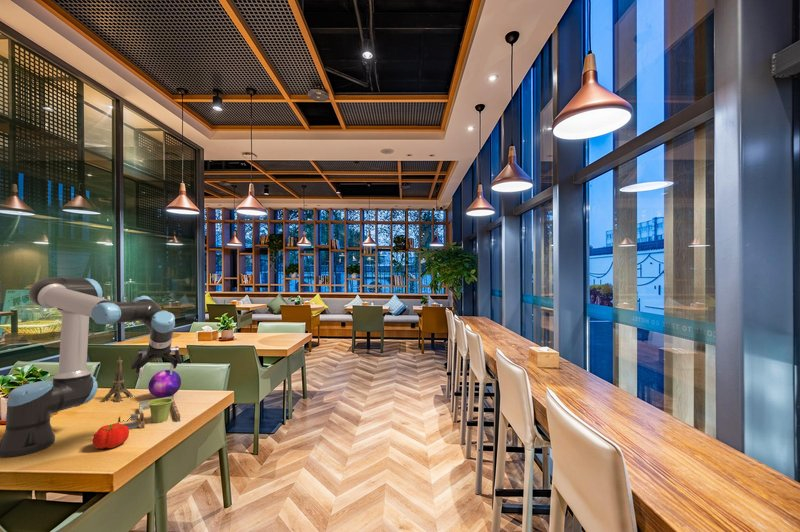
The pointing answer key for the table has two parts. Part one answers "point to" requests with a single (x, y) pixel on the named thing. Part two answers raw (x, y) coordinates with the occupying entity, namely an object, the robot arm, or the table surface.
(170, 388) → the decorative orb
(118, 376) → the eiffel tower
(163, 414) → the plant pot
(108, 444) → the tomato
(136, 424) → the grey and wooden pieces
